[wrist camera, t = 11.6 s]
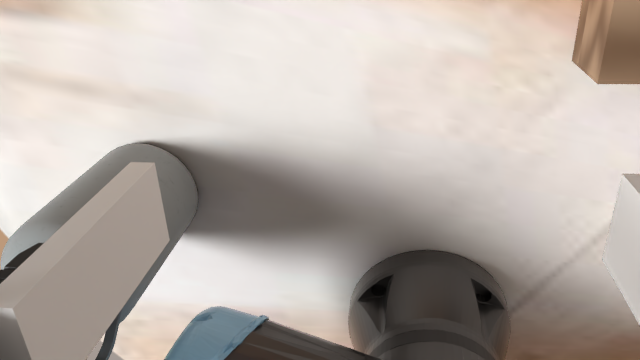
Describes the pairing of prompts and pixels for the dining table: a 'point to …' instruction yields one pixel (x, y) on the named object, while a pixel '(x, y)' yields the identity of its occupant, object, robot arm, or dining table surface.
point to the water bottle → (40, 227)
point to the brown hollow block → (609, 41)
